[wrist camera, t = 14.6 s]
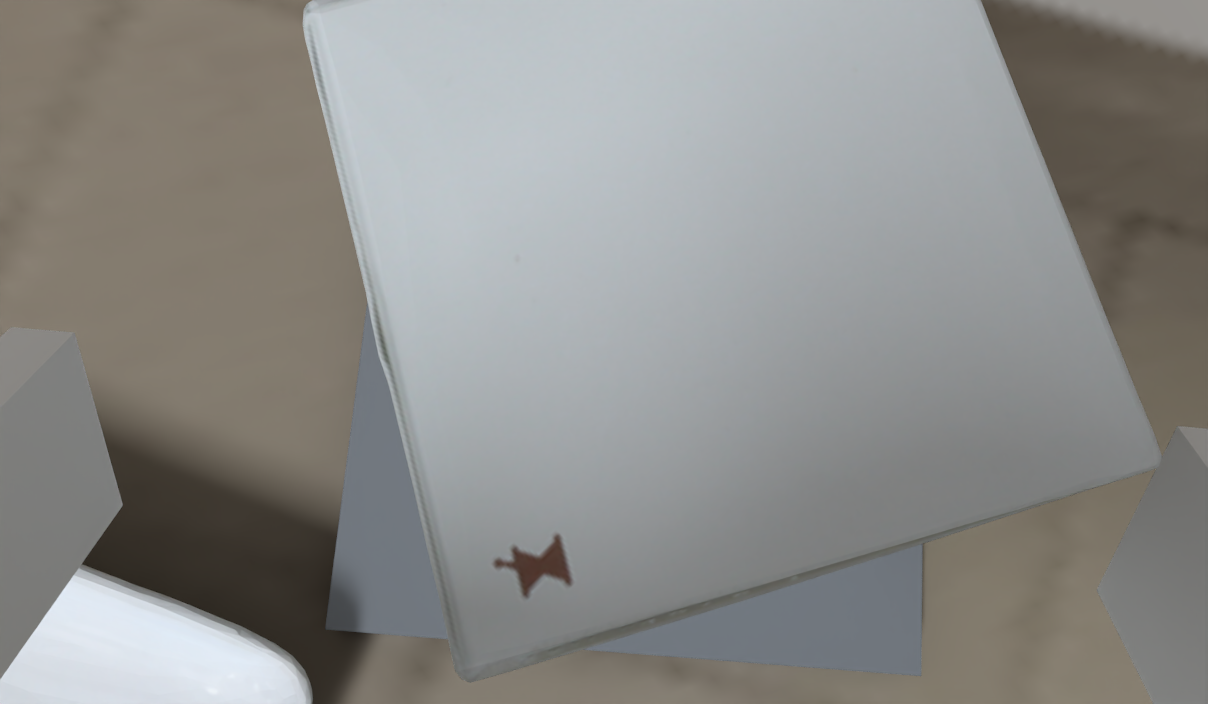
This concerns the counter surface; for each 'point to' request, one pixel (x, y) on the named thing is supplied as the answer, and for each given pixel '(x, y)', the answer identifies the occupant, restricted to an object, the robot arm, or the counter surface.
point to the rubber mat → (731, 633)
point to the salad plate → (145, 653)
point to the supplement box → (706, 297)
